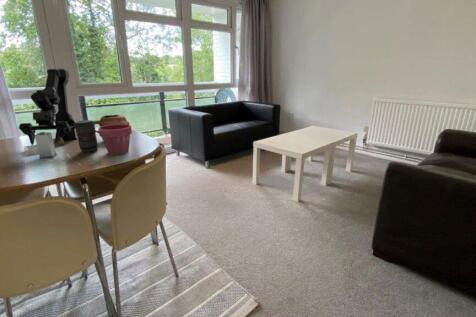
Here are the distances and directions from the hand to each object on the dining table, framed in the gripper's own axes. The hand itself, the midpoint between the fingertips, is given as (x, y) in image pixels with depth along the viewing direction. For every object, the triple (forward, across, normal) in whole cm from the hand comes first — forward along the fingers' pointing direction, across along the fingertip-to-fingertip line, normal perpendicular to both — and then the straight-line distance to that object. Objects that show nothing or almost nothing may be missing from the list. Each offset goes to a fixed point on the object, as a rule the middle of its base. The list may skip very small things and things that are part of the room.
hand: (44, 143), depth 117 cm
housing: (+4, 0, +6) cm, 7 cm away
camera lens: (+1, +16, +9) cm, 19 cm away
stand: (-4, -8, +14) cm, 16 cm away
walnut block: (-11, -3, +20) cm, 23 cm away
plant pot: (+5, +30, +5) cm, 31 cm away
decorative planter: (-14, +24, +23) cm, 36 cm away
